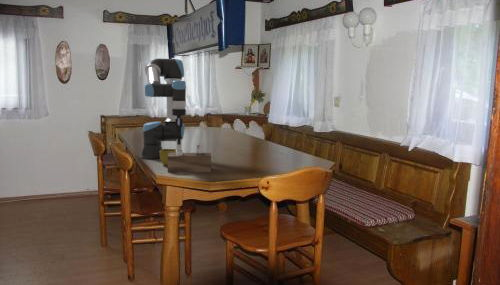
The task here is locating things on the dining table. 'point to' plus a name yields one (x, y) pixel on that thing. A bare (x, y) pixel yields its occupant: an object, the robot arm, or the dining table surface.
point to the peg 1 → (178, 152)
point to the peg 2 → (200, 149)
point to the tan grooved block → (189, 162)
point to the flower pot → (165, 155)
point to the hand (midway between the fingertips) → (179, 150)
